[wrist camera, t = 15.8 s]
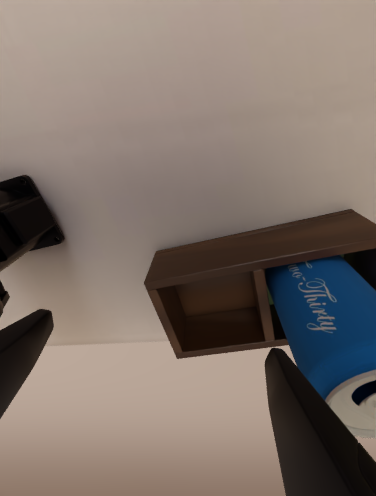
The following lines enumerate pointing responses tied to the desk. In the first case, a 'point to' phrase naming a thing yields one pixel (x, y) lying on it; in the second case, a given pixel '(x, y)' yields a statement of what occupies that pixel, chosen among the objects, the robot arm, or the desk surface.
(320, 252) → the wooden divided tray
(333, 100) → the desk surface
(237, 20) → the desk surface
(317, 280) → the beverage can
